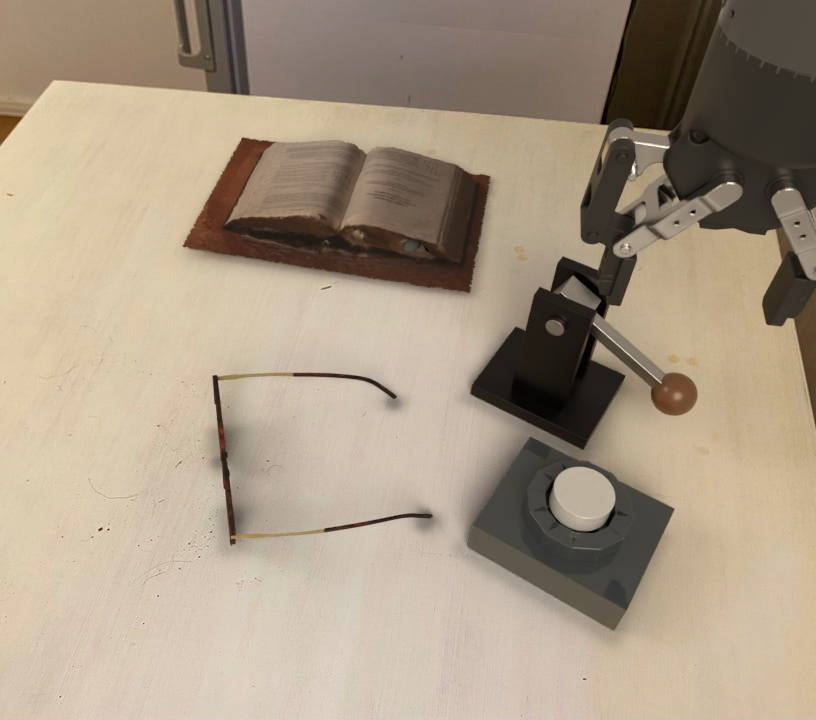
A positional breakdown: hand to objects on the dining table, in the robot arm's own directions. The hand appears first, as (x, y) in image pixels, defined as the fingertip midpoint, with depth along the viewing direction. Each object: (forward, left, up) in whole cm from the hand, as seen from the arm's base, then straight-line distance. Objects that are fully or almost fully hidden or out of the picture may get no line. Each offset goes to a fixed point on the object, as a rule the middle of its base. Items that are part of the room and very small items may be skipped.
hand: (690, 305), depth 45 cm
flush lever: (+4, -7, -14) cm, 16 cm away
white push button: (+1, +5, -16) cm, 16 cm away
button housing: (+1, +5, -20) cm, 21 cm away
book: (+35, -17, -20) cm, 44 cm away
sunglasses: (+19, +10, -20) cm, 30 cm away
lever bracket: (+8, -7, -20) cm, 23 cm away
